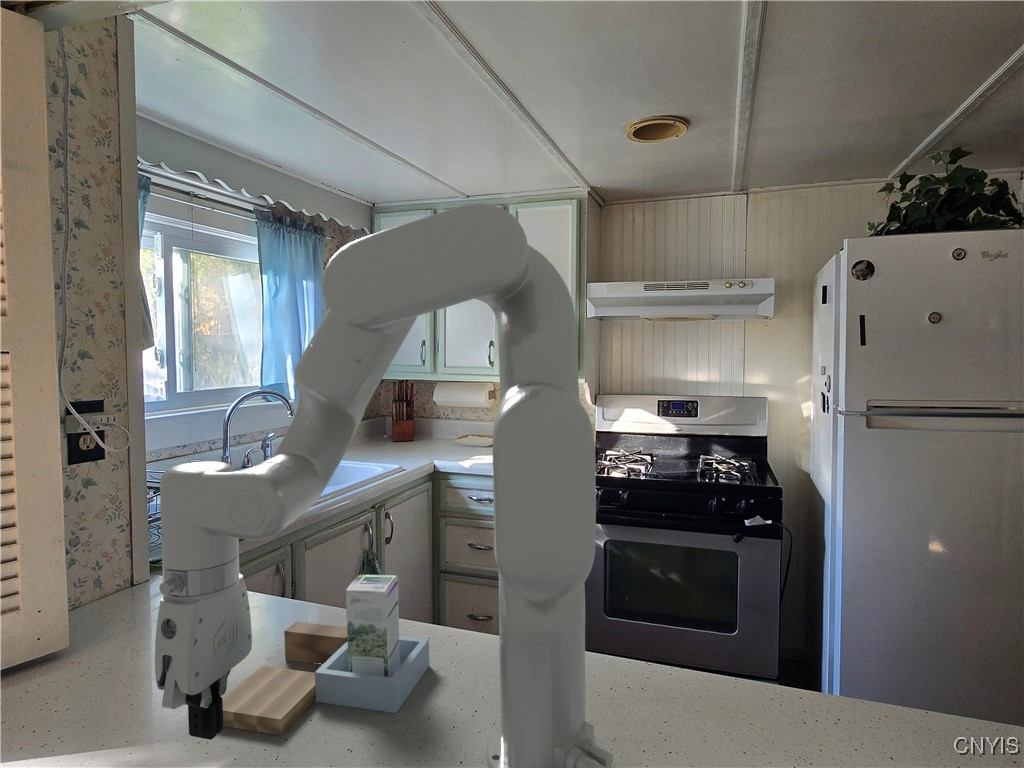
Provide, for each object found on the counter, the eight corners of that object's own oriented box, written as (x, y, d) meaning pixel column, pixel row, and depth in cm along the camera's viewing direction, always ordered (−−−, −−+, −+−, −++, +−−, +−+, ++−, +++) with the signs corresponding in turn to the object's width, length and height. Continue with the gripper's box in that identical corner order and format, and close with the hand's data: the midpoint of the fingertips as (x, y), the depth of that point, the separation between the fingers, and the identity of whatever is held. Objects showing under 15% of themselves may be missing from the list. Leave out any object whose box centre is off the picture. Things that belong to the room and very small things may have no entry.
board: (326, 688, 81) (325, 674, 81) (281, 735, 71) (280, 719, 71) (262, 679, 83) (262, 665, 83) (210, 723, 73) (209, 708, 73)
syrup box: (401, 672, 85) (399, 573, 84) (389, 696, 79) (386, 590, 78) (362, 670, 85) (359, 572, 84) (347, 694, 79) (344, 589, 78)
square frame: (429, 665, 86) (428, 639, 86) (395, 713, 75) (395, 682, 75) (358, 657, 89) (357, 631, 89) (315, 701, 78) (314, 672, 78)
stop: (356, 657, 89) (355, 628, 88) (346, 668, 86) (345, 638, 86) (297, 650, 91) (296, 621, 91) (285, 660, 88) (284, 630, 88)
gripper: (178, 607, 57) (183, 787, 59) (273, 554, 72) (276, 699, 73) (114, 599, 59) (121, 774, 60) (220, 549, 74) (224, 691, 75)
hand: (206, 733), depth 67 cm, fingers closed
